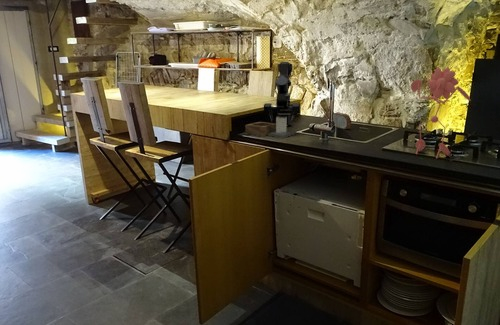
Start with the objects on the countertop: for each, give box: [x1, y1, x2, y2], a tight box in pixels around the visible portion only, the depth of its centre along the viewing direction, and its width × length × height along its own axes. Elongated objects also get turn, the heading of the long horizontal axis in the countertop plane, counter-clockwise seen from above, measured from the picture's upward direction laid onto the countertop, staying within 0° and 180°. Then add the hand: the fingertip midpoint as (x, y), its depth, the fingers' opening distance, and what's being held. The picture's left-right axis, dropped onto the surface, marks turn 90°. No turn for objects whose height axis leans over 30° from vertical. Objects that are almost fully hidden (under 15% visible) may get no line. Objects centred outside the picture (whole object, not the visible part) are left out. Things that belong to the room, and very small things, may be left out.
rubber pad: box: [268, 130, 296, 139], centre depth 211 cm, size 10×10×2 cm
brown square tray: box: [244, 121, 276, 137], centre depth 217 cm, size 12×12×5 cm
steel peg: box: [275, 116, 288, 134], centre depth 210 cm, size 5×5×8 cm
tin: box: [332, 111, 352, 130], centre depth 226 cm, size 15×3×8 cm, turn 25°
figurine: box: [410, 67, 471, 162], centre depth 164 cm, size 15×26×35 cm, turn 34°
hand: (281, 121), depth 208 cm, fingers open, 9 cm apart
